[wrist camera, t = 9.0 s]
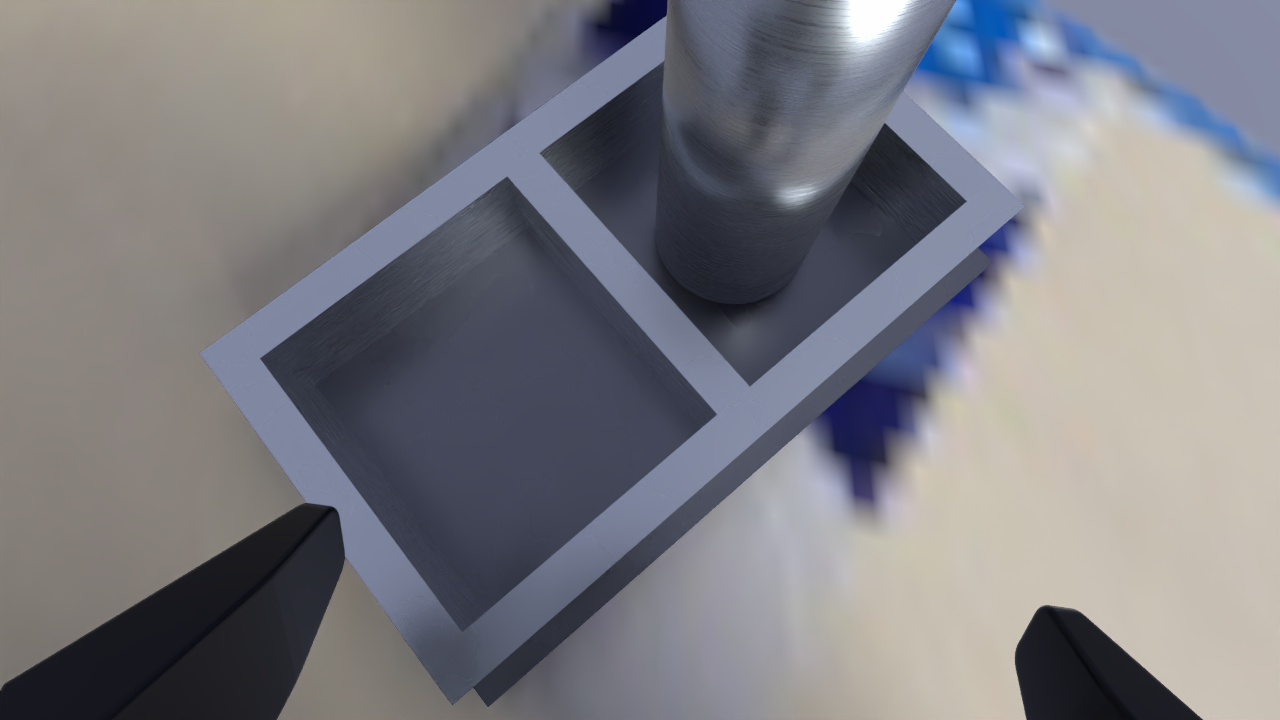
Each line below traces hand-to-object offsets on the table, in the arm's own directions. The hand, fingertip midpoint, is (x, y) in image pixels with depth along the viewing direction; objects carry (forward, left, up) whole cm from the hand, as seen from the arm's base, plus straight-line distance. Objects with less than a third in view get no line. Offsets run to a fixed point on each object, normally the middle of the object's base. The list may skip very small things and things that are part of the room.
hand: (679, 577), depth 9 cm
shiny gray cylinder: (+7, +6, -9) cm, 13 cm away
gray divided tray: (+4, +6, -10) cm, 12 cm away
